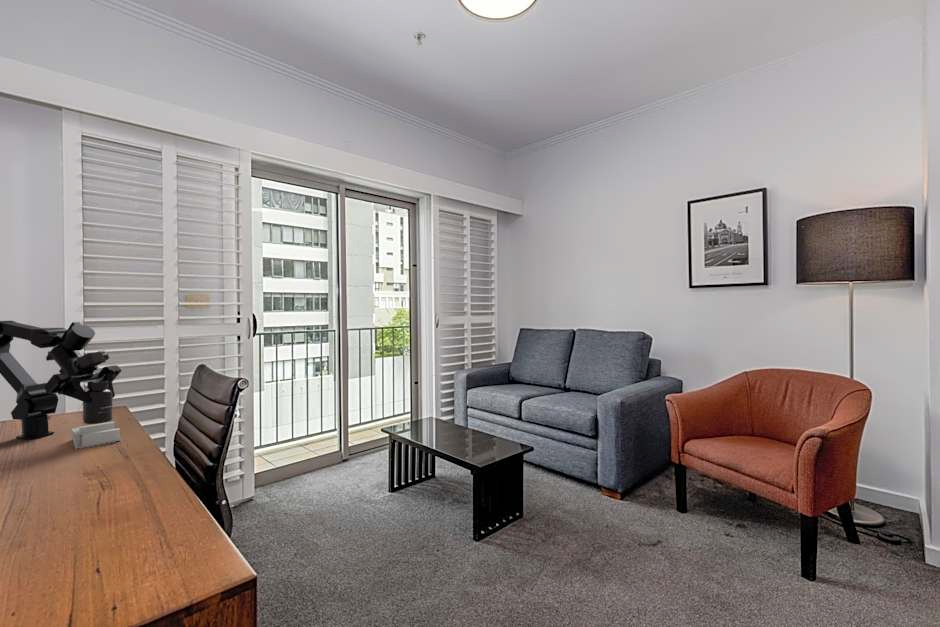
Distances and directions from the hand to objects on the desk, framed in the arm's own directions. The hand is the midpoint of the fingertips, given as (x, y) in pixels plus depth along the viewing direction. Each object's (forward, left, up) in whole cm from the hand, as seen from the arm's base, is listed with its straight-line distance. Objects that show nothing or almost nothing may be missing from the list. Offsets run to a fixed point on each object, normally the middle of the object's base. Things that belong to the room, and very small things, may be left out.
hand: (101, 399), depth 135 cm
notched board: (-1, 0, -12) cm, 12 cm away
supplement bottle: (-1, 0, -7) cm, 7 cm away
